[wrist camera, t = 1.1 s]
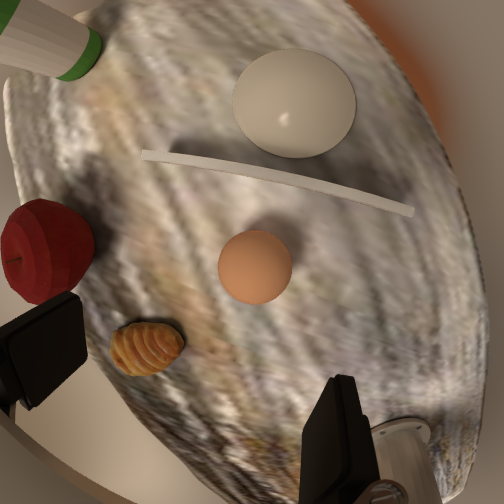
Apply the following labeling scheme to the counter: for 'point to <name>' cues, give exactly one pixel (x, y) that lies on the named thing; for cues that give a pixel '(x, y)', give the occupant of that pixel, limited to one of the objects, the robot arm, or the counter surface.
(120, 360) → the pastry
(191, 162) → the wall
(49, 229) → the apple
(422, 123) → the counter surface
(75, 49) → the wine bottle
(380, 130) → the counter surface
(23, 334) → the robot arm
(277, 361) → the counter surface
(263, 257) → the ball
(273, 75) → the saucer
